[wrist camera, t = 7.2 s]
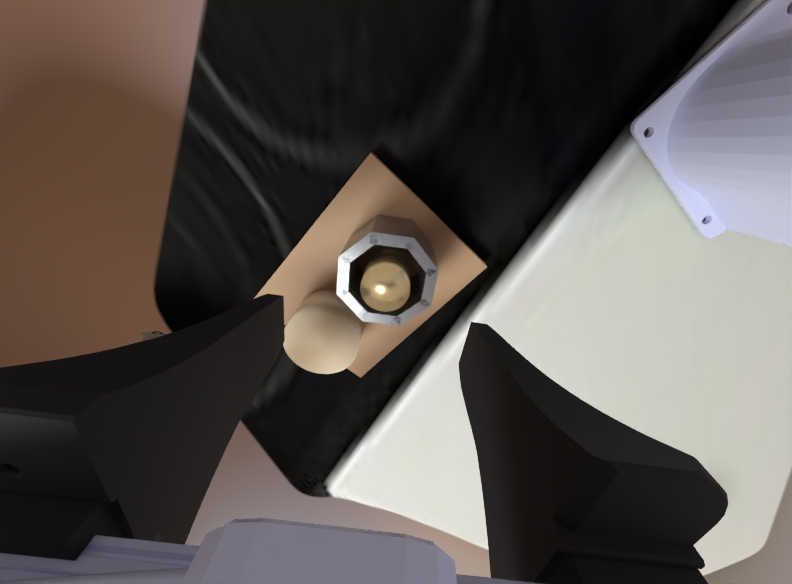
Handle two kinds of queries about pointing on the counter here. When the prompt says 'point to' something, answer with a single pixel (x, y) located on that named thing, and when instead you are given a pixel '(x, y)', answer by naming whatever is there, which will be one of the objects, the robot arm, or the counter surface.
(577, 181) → the counter surface
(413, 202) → the board
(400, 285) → the brass post
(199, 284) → the counter surface
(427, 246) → the ring
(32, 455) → the robot arm
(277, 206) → the counter surface
